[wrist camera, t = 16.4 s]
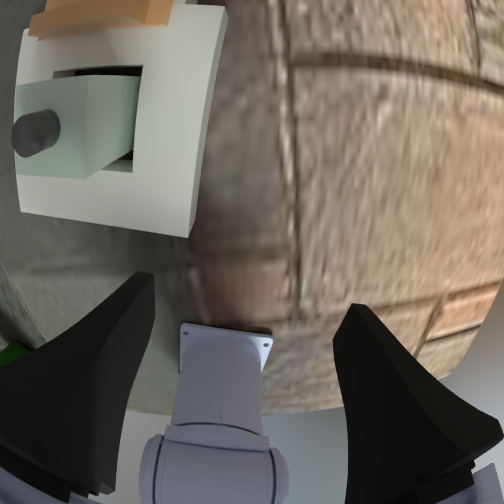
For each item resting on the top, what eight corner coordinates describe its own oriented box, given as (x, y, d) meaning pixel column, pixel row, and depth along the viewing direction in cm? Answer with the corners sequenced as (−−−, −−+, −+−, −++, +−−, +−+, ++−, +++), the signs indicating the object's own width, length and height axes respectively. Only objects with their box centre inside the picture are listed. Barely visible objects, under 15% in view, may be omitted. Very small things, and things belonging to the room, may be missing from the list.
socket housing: (195, 219, 19) (187, 238, 16) (39, 197, 17) (21, 211, 15) (248, -56, 9) (248, -74, 7) (66, -36, 7) (47, -44, 5)
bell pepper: (62, 378, 31) (40, 434, 23) (25, 366, 31) (2, 415, 23) (36, 340, 27) (4, 401, 18) (0, 329, 27) (-31, 381, 18)
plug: (137, 147, 16) (66, 192, 9) (79, 143, 15) (-2, 185, 9) (145, 77, 14) (69, 75, 7) (83, 79, 13) (-5, 89, 6)
